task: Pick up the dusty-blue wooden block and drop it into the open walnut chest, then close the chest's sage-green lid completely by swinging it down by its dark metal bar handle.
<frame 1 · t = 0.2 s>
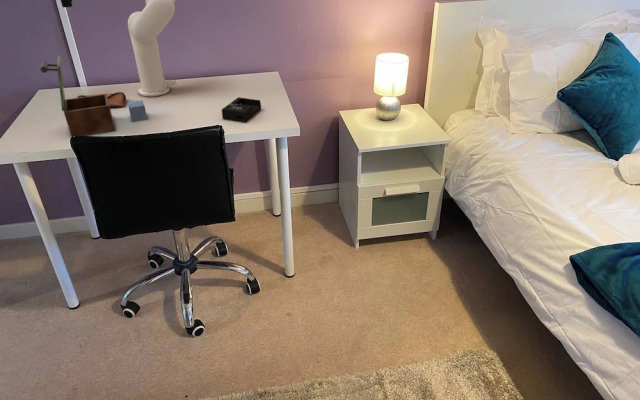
hand: (67, 4, 174), 37 cm above the table, tool pointing down, fingers open, 9 cm apart
block: (139, 117, 180), on the table
battery charger: (242, 115, 182), on the table
sunglasses case: (102, 106, 190), on the table
chest: (93, 127, 173), on the table
lid: (52, 82, 160), point 18 cm above the table, hinge at 80.0°
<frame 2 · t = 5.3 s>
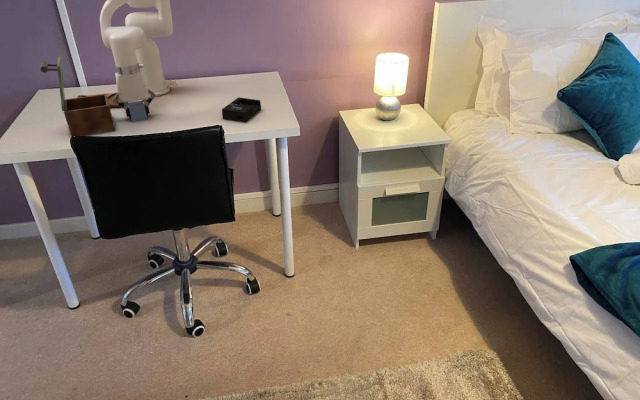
hand: (138, 116, 179), 0 cm above the table, tool pointing down, fingers closed on block, 5 cm apart
block: (139, 117, 180), on the table, touching gripper
everything else where it was.
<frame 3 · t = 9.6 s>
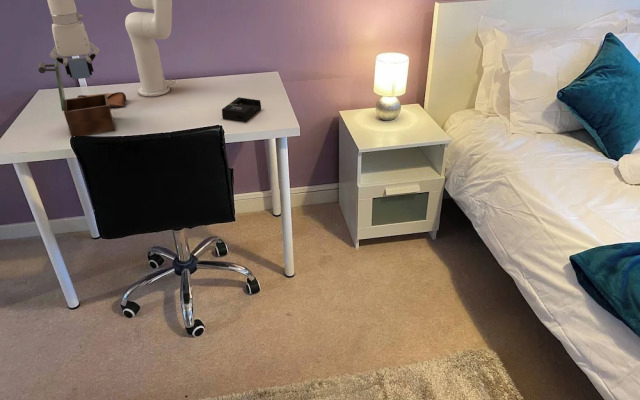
hand: (81, 74, 162), 19 cm above the table, tool pointing down, fingers closed on block, 5 cm apart
block: (81, 76, 163), point 19 cm above the table, touching gripper
lid: (51, 83, 160), point 17 cm above the table, hinge at 82.8°, touching gripper
everything else where it was.
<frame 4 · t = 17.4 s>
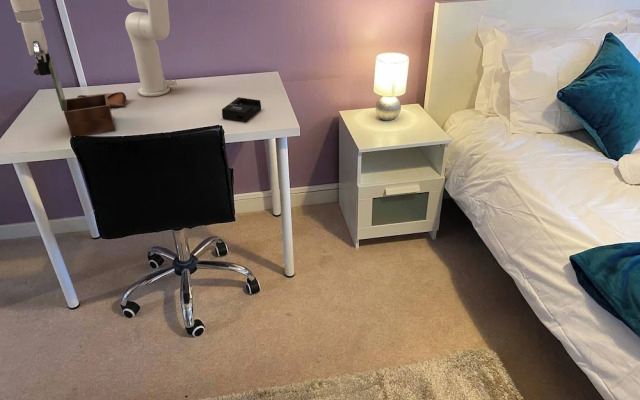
hand: (46, 70, 158), 22 cm above the table, tool pointing down
block: (95, 124, 173), point 1 cm above the table, touching chest
lid: (49, 84, 160), point 17 cm above the table, hinge at 89.2°, touching gripper
everything else where it was.
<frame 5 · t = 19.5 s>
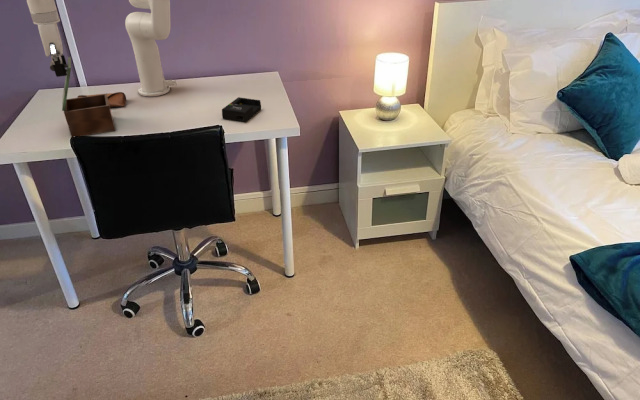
hand: (62, 71, 160), 21 cm above the table, tool pointing down, fingers open, 8 cm apart
lid: (58, 82, 161), point 18 cm above the table, hinge at 68.1°, touching gripper
everything else where it was.
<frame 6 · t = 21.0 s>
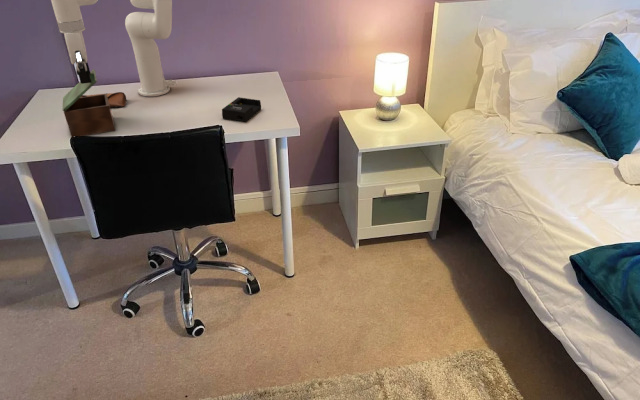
hand: (85, 78, 164), 18 cm above the table, tool pointing down, fingers open, 8 cm apart
lid: (73, 84, 163), point 16 cm above the table, hinge at 35.0°, touching gripper
everything else where it was.
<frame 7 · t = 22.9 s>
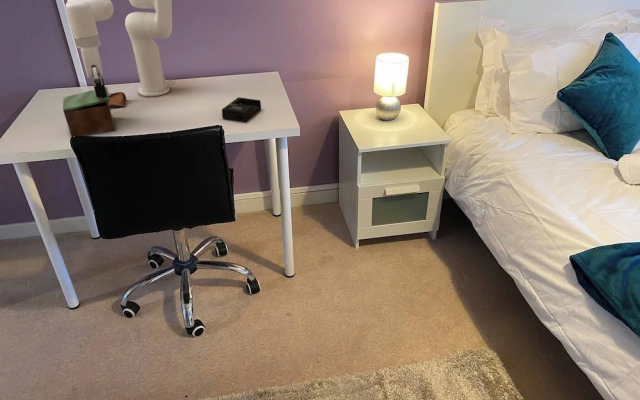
hand: (101, 93, 168), 12 cm above the table, tool pointing down, fingers closed on lid, 6 cm apart
lid: (83, 92, 166), point 13 cm above the table, hinge at 6.1°, touching gripper
everything else where it was.
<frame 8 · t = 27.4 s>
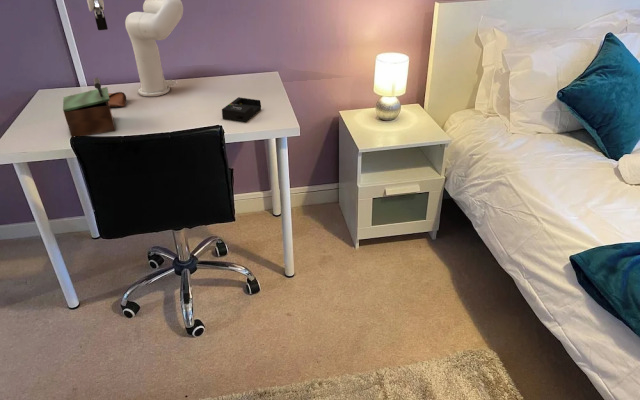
hand: (102, 26, 172), 30 cm above the table, tool pointing down, fingers open, 9 cm apart
lid: (83, 92, 166), point 13 cm above the table, hinge at 6.1°
everything else where it was.
at the end: block inside the target area in the chest (1.0 cm from its centre), point 0.8 cm above the chest's base; lid at +6° (first picture: +80°) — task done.
